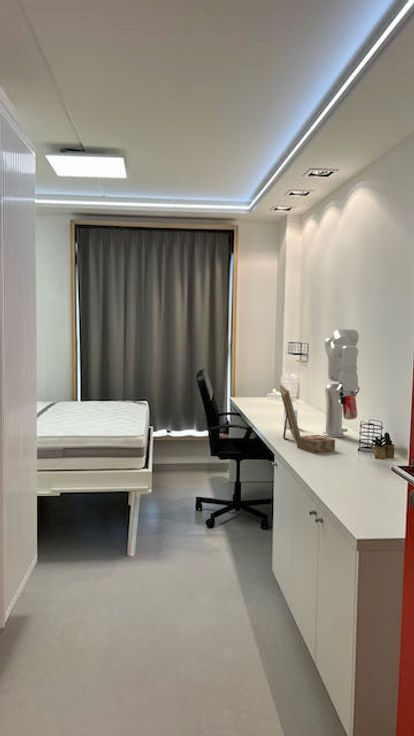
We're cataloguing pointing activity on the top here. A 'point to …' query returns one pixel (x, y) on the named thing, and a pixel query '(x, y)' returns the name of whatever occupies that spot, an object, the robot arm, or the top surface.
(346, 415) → the soda can
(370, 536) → the top surface
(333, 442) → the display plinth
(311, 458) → the top surface
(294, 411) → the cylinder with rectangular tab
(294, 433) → the picture frame
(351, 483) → the top surface
